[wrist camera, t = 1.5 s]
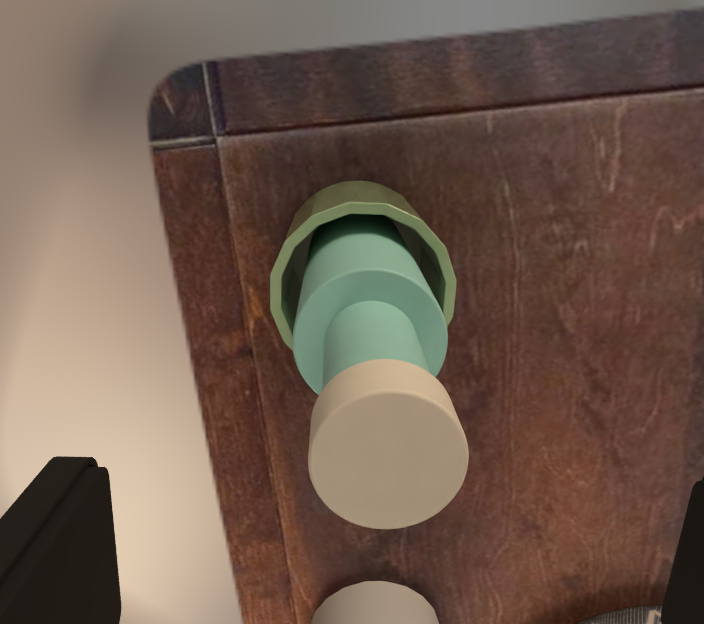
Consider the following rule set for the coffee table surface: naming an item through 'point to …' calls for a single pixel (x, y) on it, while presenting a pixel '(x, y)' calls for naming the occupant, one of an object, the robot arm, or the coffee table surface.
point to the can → (375, 606)
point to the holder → (338, 204)
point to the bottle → (376, 378)
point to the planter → (629, 616)
